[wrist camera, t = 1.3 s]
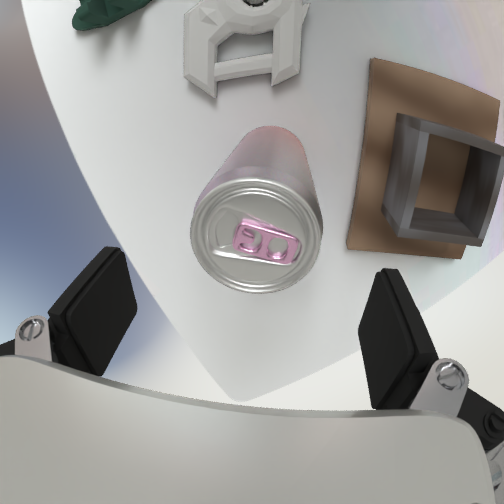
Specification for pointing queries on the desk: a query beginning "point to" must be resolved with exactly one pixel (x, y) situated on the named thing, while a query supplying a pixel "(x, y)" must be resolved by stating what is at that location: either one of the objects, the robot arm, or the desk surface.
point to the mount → (103, 12)
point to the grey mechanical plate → (242, 22)
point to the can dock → (425, 165)
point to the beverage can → (259, 215)
